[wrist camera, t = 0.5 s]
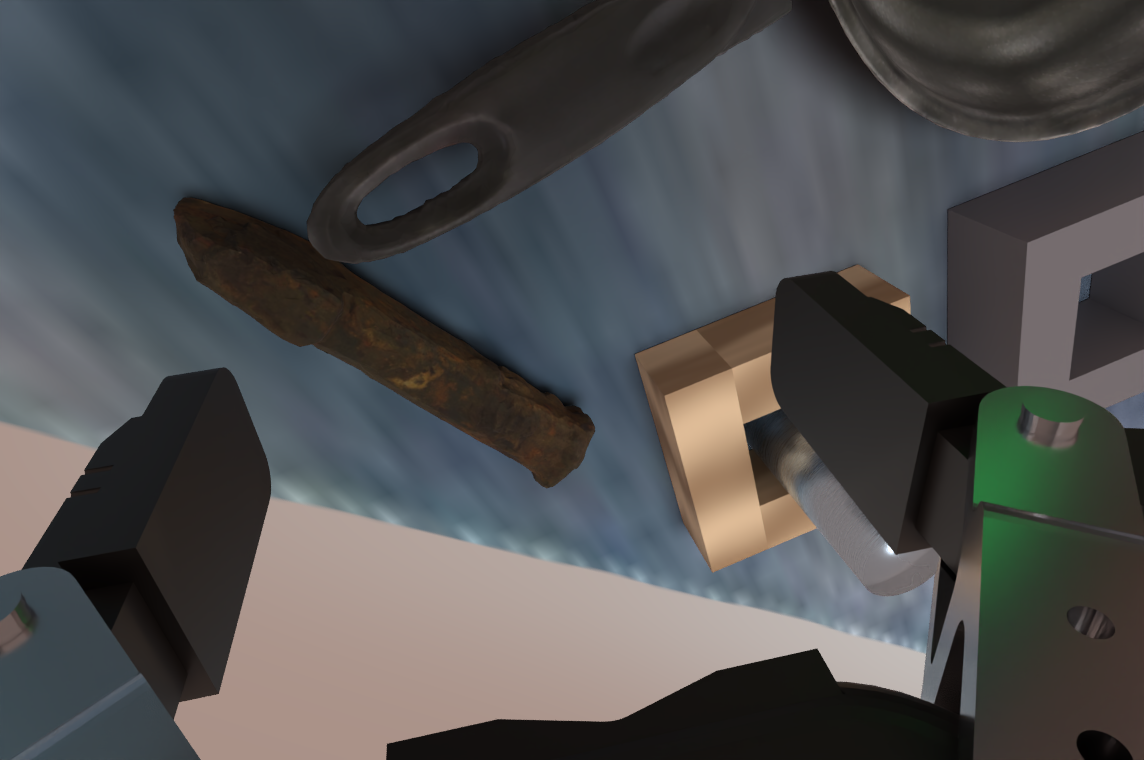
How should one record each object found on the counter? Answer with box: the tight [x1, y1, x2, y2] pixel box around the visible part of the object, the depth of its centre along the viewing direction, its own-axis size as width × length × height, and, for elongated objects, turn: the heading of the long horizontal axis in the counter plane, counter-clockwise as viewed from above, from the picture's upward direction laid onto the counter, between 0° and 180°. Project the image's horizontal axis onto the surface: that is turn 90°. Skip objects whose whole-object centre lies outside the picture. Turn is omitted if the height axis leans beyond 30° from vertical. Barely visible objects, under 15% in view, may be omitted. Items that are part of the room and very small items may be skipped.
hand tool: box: [173, 198, 595, 488], centre depth 29 cm, size 19×4×5 cm, turn 46°
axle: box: [743, 409, 940, 596], centre depth 33 cm, size 4×4×12 cm
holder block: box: [948, 131, 1144, 408], centre depth 37 cm, size 12×12×5 cm
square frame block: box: [635, 264, 910, 573], centre depth 37 cm, size 12×12×4 cm
